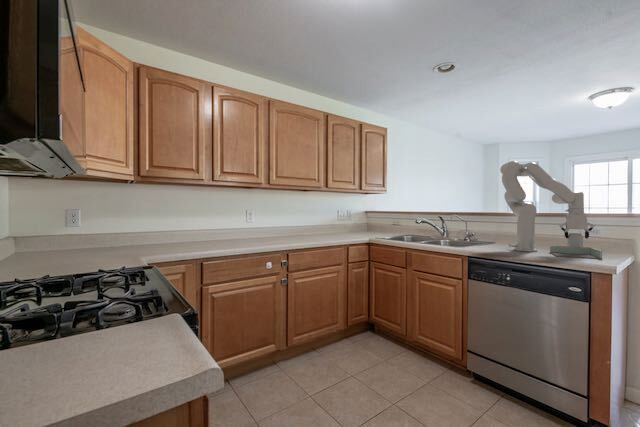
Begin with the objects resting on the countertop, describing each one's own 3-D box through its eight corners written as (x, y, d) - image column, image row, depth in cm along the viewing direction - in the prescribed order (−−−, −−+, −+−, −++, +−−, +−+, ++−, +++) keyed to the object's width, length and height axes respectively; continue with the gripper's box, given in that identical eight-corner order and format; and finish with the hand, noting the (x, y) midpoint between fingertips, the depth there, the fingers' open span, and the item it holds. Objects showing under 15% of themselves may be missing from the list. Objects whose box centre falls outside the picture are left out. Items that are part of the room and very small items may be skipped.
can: (581, 251, 190) (582, 233, 189) (583, 253, 183) (584, 233, 183) (566, 250, 194) (566, 232, 194) (568, 252, 188) (568, 233, 187)
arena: (556, 256, 171) (556, 248, 171) (549, 252, 185) (550, 245, 185) (602, 259, 161) (602, 250, 161) (591, 255, 176) (592, 247, 176)
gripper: (560, 211, 189) (560, 238, 189) (596, 211, 181) (596, 239, 181) (557, 211, 195) (558, 237, 196) (591, 210, 187) (592, 237, 188)
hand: (576, 238), depth 188 cm, fingers open, 9 cm apart
